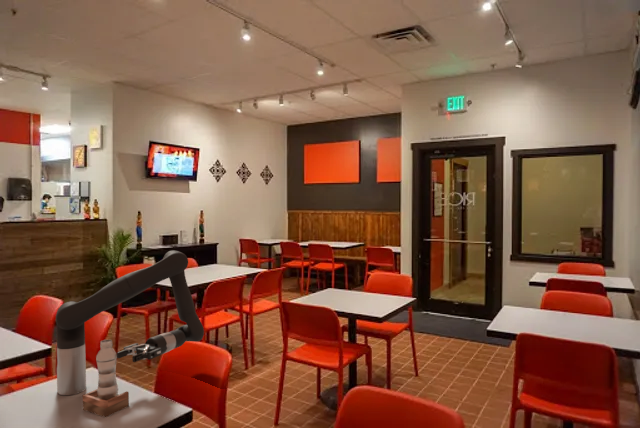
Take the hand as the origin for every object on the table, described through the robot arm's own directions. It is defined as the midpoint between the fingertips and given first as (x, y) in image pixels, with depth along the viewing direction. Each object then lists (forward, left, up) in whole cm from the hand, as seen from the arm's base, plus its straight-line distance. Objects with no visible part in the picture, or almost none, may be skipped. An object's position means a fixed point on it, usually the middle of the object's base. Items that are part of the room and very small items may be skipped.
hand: (125, 357), depth 158 cm
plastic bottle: (0, -7, -12) cm, 14 cm away
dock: (0, -8, -15) cm, 17 cm away
